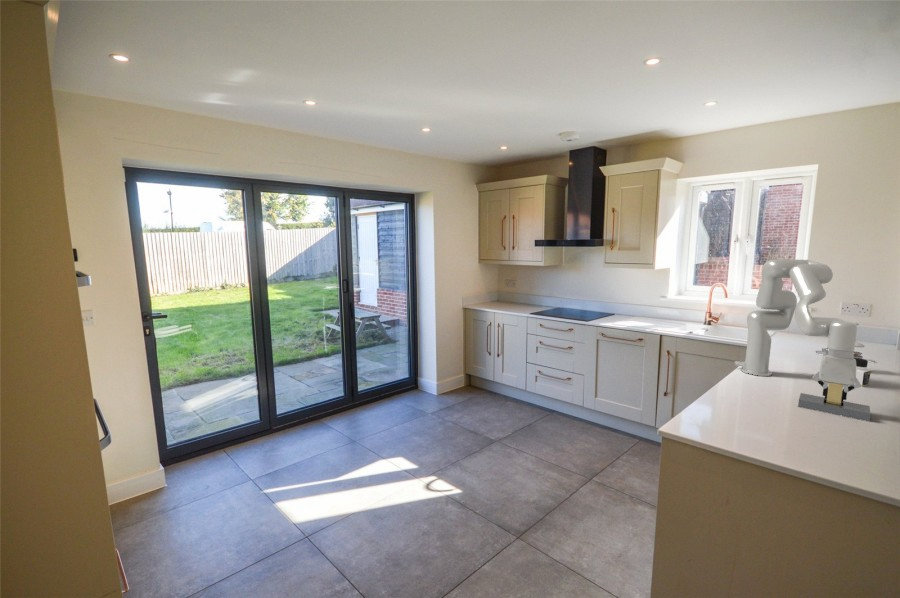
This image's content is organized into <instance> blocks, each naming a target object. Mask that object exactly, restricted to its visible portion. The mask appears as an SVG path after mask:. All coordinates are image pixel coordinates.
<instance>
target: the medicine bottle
mask: <svg viewBox="0 0 900 598" xmlns="http://www.w3.org/2000/svg"><path fill="white" fill-rule="evenodd" d="M854 359H855V360H856V378H857V379H858V381H859V382H860V384H861V386H863V387H865V385H866V386H869V385H870V379H871V378H870V377H871V372H872V371H871V369H869V368H868V364H869V362H868V361H867V360H865V359H866V358H863V359H862V358H854ZM867 368H868V369H867Z"/></svg>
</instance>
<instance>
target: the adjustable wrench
mask: <svg viewBox="0 0 900 598" xmlns="http://www.w3.org/2000/svg"><path fill="white" fill-rule="evenodd" d="M815 352H817V353H816V355H819V354H823V355H822V356H824V355H826V353H825V352H822V350H815ZM862 359H865V360H867V361H871V362H875V363H876V360H874V359H868V358H862ZM871 362H870V363H871Z"/></svg>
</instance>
